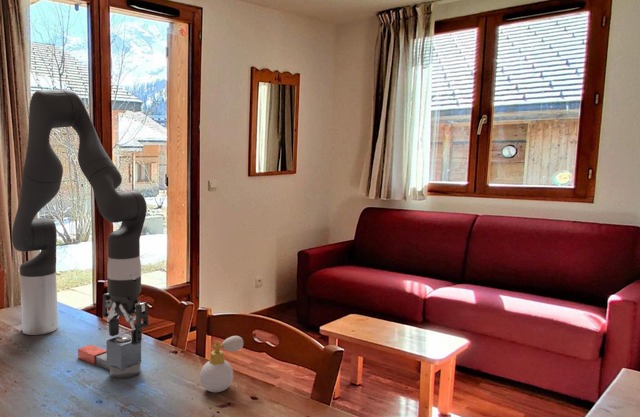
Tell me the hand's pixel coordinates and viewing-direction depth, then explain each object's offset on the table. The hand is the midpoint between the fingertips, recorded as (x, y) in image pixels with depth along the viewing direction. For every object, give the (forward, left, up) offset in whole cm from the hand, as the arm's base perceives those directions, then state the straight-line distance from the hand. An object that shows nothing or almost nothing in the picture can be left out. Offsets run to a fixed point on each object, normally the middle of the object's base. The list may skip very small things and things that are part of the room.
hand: (125, 339), depth 124 cm
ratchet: (-7, 0, -8) cm, 11 cm away
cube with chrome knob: (0, -1, -6) cm, 6 cm away
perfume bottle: (+24, +8, -9) cm, 27 cm away
